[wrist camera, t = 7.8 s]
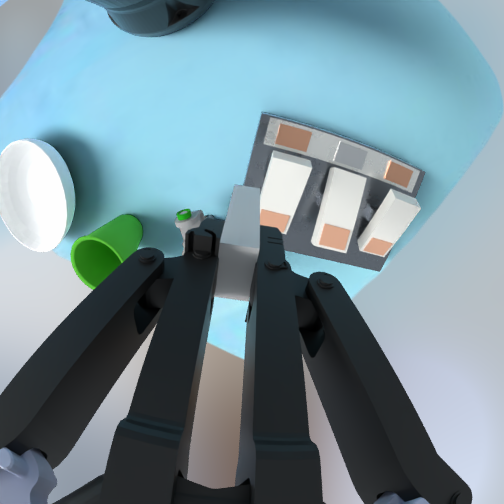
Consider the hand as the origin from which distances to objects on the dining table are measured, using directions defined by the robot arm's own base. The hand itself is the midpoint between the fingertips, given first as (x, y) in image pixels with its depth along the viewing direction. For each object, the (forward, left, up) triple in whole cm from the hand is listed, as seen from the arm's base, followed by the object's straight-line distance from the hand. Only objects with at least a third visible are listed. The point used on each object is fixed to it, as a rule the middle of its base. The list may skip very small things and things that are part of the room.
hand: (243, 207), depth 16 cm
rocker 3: (+3, +18, -13) cm, 22 cm away
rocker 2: (+3, +11, -13) cm, 17 cm away
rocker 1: (+3, +4, -13) cm, 14 cm away
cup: (+16, -16, -21) cm, 31 cm away
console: (+3, +11, -20) cm, 23 cm away
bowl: (+11, -34, -21) cm, 41 cm away
